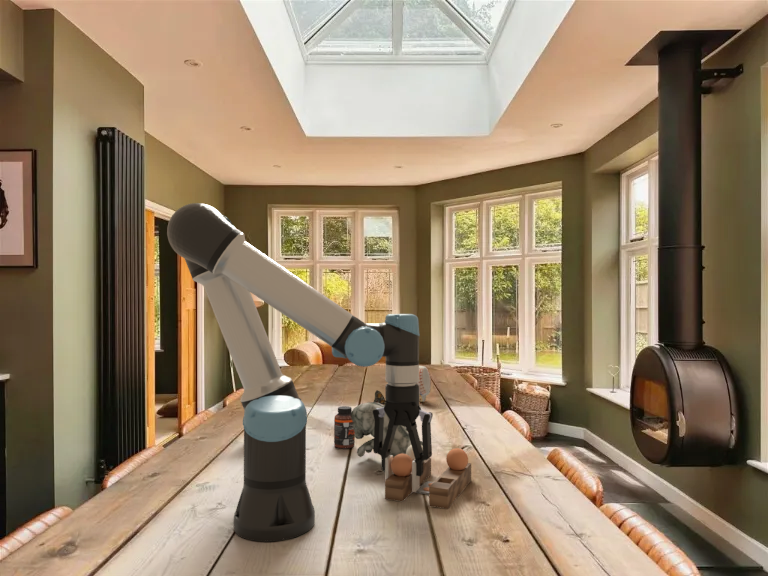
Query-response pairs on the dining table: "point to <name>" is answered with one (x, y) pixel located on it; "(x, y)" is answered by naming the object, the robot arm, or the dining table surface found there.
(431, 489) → the rack
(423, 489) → the card
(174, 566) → the dining table surface
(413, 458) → the cream ball
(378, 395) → the butterfly
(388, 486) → the rack
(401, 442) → the figurine
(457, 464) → the rust ball
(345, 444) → the supplement bottle
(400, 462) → the rust ball
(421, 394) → the white patterned rounded slab
